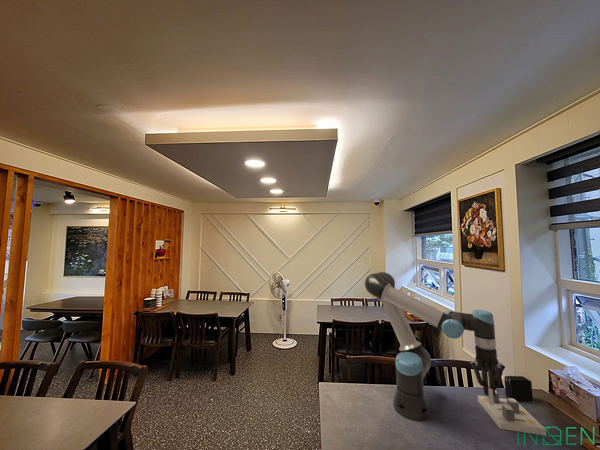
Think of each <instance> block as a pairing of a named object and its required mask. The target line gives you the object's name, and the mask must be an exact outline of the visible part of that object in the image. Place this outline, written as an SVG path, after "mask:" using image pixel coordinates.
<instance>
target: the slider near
mask: <svg viewBox="0 0 600 450" xmlns="http://www.w3.org/2000/svg"><path fill="white" fill-rule="evenodd" d="M502 415H503V416H504V417H505V419H506V420H511V421H515V415H514V410H513V409H512V408H511V407H510V406H509V405H502Z"/></svg>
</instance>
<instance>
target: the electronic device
mask: <svg viewBox="0 0 600 450" xmlns="http://www.w3.org/2000/svg"><path fill="white" fill-rule="evenodd" d="M503 379H504V389H505V390H504V391H505V393H504V394H505V396H506V397H507V399H508V398H513V399H515V400H516V401H517V402H518V403H519V402H520V403H521V402H523V403H526V402H530V403H532V402H533V401H534V399H533V385H532V384H533V383H532V380H530V379H528V378H527V377H525V376H522V375H519V376H518V375H505V376H504V378H503Z"/></svg>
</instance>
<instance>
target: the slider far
mask: <svg viewBox="0 0 600 450" xmlns="http://www.w3.org/2000/svg"><path fill="white" fill-rule="evenodd" d="M499 398H500V393H498V391H497V389H496V390H495V396H493V400H494V403H499Z"/></svg>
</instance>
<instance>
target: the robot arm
mask: <svg viewBox="0 0 600 450" xmlns="http://www.w3.org/2000/svg"><path fill="white" fill-rule="evenodd" d="M364 287H365V290H366V291H367V292H368V293H369V294H370V295H372V297H374V298H376V299H377V300H379V301H381V303H382V306H383V308H384V310H385V313H386V316H387V317H388V319H389V322H390V325H391V326H392V329H393V331H394V333H395V336H396V338H397V340H398V342H399V348H398V350H399V352H398V354H397V355H396V357H395V375H396V388H395V393H394V396H393V399H392V403H393V404H392V406H393V408H394V410H395V411H396V412H397V413H398V414H400V415H401V416H402V417H405V418H407V419H410V420H414V421H421V420H425V419H427V418H428V417H429V414H430V413H429V412H430V411H429V406H428V403H427V400H426V397H425V394H424V378H425V376H426V375H427V373H428V371H430V369H431V364H432V360H431V355H430V353H429V352H428V351H427V350H426V349H425V348H424V347H423V345H422V343H421V342H420V341H418V340H417V339H416V336H415V334H414V332H413V330H412V328H411V326H410V324H409V321H408V320H407V317H406V314H405V313H404V311H405V312H407V313H408V314H411V315H412V316H414V317H417V318H418V319H420V320H422V321H424V322H425V323H428V324H430V325H431V326H433V327H435V328H437V329H439V330H440V331H442V332H443V334H444V335H445V336H446V337H447V338H449V339H452V340H453V339H455V340H456V339H459V338H460V337H461V336H463V334H464V333H465V331H469V332H473V333H474V335H473V336H474V344H475V345H474V346H475V347H474V348H475V357H474V358H475V359H473V360H470V361H469V363H470V364H471V366H472V368H473V372H474V374H475V378H476V381H477V383H478V384H479V385H480V386H481V387H482V388H483V390H482V391H483V393H484V396H486V399H487V402H488V403H489V404H490V405H494V400H493V396H495V390H496V391H497V389H499V388H500V387H501V385H502V384H501V383H502V378H503V372H504V370H505V369H506V366H505V365H503V364H502V362H499V360H498V354H497V349H496V348H497V342H496V341H497V340H496V330H495V321H494V315H493V313H492V312H490V311H489V310H483V309H473V310H472V312H471V313H466V312H460V311H453V310H444V311H442V310H440V309H437V308H435V307H434V306H431V305H430V304H428V303H425V302H424V301H421V300H419V299H417V298H415V297H413V296H411V295H410V294H407V293H405V292H404V291H401V290H399V289H397V288H396V281H395V278H394V277H393V275H391V274H390V273H388V272H385V271H379V272H375V273H371V274H369V275H368V276H367V277H366V278H365V281H364ZM478 365H479V366H480V369H481V370H479V367H478ZM495 368H496V369H495ZM480 371H481V373H480Z"/></svg>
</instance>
